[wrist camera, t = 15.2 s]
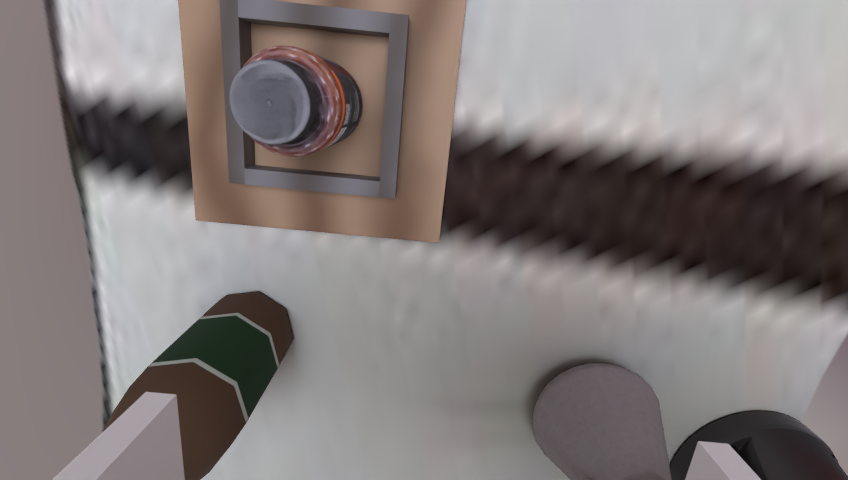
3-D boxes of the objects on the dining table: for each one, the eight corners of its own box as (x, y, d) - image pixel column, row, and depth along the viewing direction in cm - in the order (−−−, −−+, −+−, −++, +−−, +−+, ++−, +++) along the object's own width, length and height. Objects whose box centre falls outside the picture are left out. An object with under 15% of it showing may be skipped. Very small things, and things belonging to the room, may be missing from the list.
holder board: (468, -31, 29) (473, -46, 26) (438, 238, 35) (439, 250, 32) (181, -63, 28) (153, -82, 25) (202, 217, 34) (181, 227, 31)
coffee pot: (657, 353, 38) (795, 499, 24) (627, 449, 42) (731, 627, 27) (431, 333, 38) (434, 471, 23) (419, 433, 41) (416, 605, 27)
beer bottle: (193, 311, 37) (-180, 639, 14) (262, 272, 36) (-24, 562, 13) (245, 374, 39) (-7, 749, 16) (312, 339, 38) (141, 691, 15)
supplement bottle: (271, 76, 30) (183, 58, 19) (347, 48, 29) (300, 13, 19) (303, 154, 32) (239, 178, 21) (375, 130, 31) (348, 141, 20)
